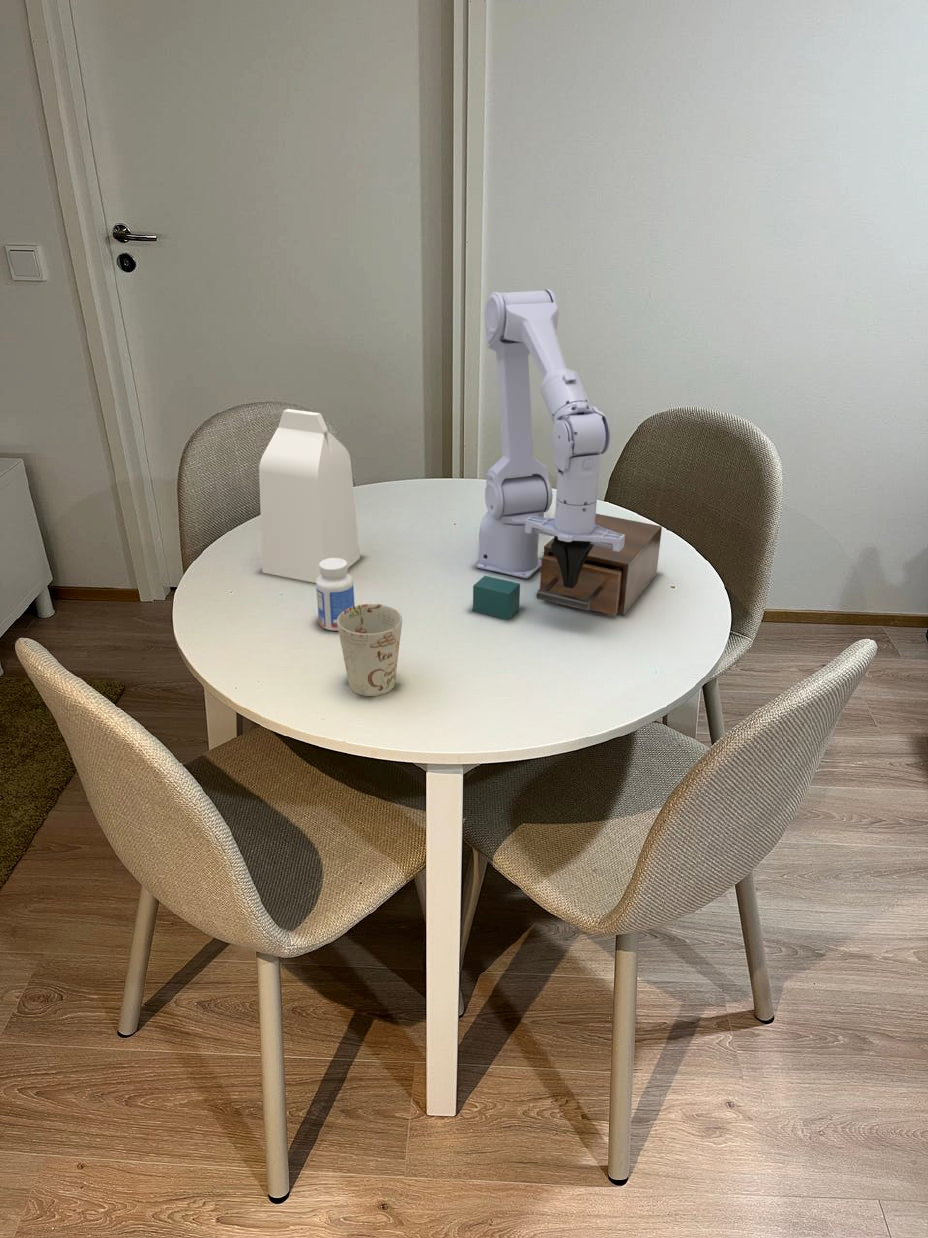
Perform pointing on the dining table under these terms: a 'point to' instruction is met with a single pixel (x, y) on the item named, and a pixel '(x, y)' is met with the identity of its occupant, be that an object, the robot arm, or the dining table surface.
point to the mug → (370, 647)
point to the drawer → (582, 586)
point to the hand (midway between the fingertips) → (570, 585)
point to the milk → (306, 499)
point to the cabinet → (627, 555)
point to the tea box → (496, 597)
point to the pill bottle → (333, 591)
